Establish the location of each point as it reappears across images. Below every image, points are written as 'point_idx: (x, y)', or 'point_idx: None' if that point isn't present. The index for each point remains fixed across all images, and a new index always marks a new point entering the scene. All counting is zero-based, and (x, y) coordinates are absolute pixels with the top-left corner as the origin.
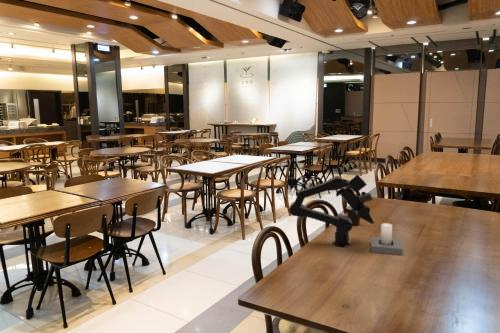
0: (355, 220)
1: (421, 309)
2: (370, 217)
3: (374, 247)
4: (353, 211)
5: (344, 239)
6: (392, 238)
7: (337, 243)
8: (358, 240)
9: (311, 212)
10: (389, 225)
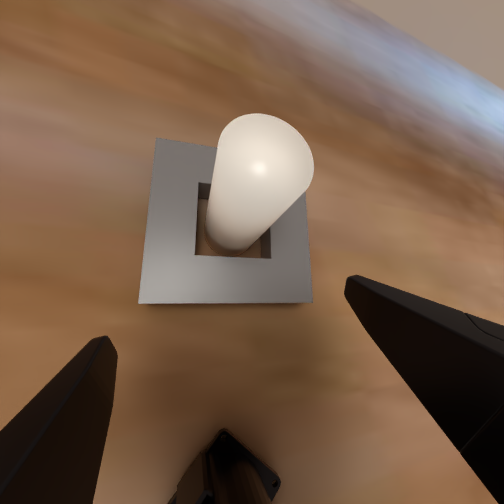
0: None
1: None
2: (463, 321)
3: (309, 285)
4: None
5: (268, 495)
6: (157, 177)
7: None
8: (129, 386)
9: None
10: (279, 138)
